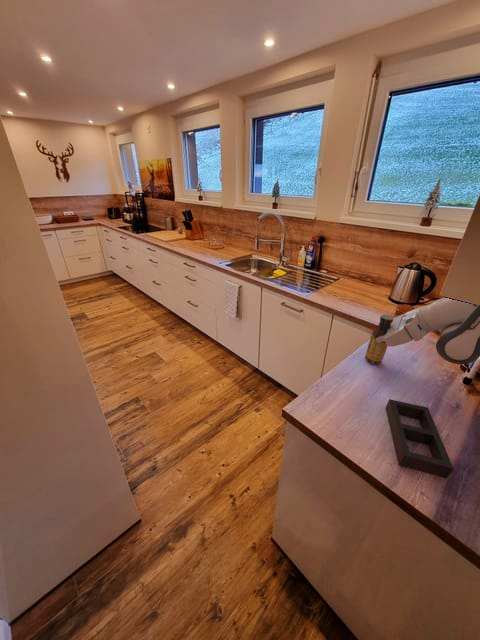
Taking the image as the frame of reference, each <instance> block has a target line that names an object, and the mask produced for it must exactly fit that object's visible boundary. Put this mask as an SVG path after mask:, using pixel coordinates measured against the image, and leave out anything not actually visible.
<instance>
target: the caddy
mask: <svg viewBox="0 0 480 640" xmlns="http://www.w3.org/2000/svg"><path fill="white" fill-rule="evenodd" d="M385 412H386V417H387V420H388V425H389V429H390V433H391V438H392V441H393V446H394V450H395V454H396V459H397V463H398V466H400V467H404V468H409V469H411V470H414V471H418V472H422V473H425V474H429V475H432V476H436V477H439V478H444V479H448V477H449V476H450V475H451V474H452V472H453V471H454V466H453V464H452V462H451V461H452V460H451V459H450V457H449V454H448V451H447V449H446V446H445V445H444V442H443V439H442V438H441V435H440V433H439V430H438V428H437V426H436V423H435V421H434V418H433V416H432V414H431V412H430V409H429V407H428V406H422V405H418V404H413V403H408V402H405V401H400V400H396V399H388V401H387V404H386V405H385ZM401 416H403V417H407V418H411V419H415V420H418V421H419V424H420V427H418V426H414V425H410V424H406V423H402V420H401ZM407 441H412V442H415V443H419V444H423V445H427V447H428V449H429V452H430V454H431V456H427V455H424V454H420V453H416V452H412V451H410V449H409V446H408V445H409V444H408V442H407Z"/></svg>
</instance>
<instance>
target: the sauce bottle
mask: <svg viewBox="0 0 480 640" xmlns="http://www.w3.org/2000/svg"><path fill="white" fill-rule="evenodd" d="M393 319H394V317H393V316H391V315H389V314H381V315H380V318H379V323H378V326H377V327H376V328H374V329H373V330H372V333H371V335H370V338H369V342H368V344H367V348H366V352H365V357H364V359H365V361H366V362H367V363H369V364H370V365H373V366H379V365H381V364H382V361H384V358H385V355H386V352H387V349H388V347H389V346H388V345H387V343H386V342H379V343H377V341H376V340H375V339H376V337H378V336H384V335H385V334H386V333H387V331H388V329H389V328H390V325H391V323H392V322H393Z"/></svg>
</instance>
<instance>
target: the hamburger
mask: <svg viewBox="0 0 480 640" xmlns="http://www.w3.org/2000/svg"><path fill="white" fill-rule="evenodd" d="M416 308H417V307H414V306H413V305H410V304H406V303H404V304H398V305H397V306H396V307H395V308H394V309H393V311H395V312H394V318H395V317H397V316H400V315H402V314H405V313H407V312H408V311H411V310H413V309H416Z"/></svg>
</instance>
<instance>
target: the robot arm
mask: <svg viewBox="0 0 480 640" xmlns="http://www.w3.org/2000/svg"><path fill="white" fill-rule="evenodd" d="M445 297H446V296H444V297H441V298H439V299H436V300H434V301H433V302H432V303H429V304H427V305H422V306H418V307H415V308H416V309H413V310H411V311H408V312H407V313H405V314H402V315H400V316H397V317H395V316H394V317H393V322H392V323H391V325H390V328H389V329H388V331H387V333H386V334H385V335H384V336H378V337H376V339H375V340H376V341H377V343H379V342H386V343H387V345H388V346H387V347H390V348H391V347H392V348H393V347H397V346H402V345H404V344H405V345H406V344H407V343H410V342H412V341H414V342H418V341H421V340H422V339H423V338H424V337H425V336H426V335H428V334H430V333H431V332H435V331H438V332H439V334H440V336H439V338H438V339H437V341H436V344H435V350H436V352H437V354H438V355H439V357H441V358H442V359H443V360H444V361H446V362H448V363H451V364H455V365H468V364H471V363H475V362H476V361H477V360H478V359H479V358H480V306H479V305H473V304H469V303H465V302H461V301H457V300H452V299H449V298H445Z"/></svg>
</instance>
